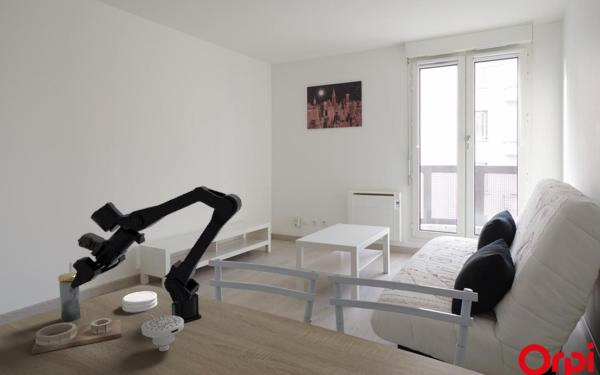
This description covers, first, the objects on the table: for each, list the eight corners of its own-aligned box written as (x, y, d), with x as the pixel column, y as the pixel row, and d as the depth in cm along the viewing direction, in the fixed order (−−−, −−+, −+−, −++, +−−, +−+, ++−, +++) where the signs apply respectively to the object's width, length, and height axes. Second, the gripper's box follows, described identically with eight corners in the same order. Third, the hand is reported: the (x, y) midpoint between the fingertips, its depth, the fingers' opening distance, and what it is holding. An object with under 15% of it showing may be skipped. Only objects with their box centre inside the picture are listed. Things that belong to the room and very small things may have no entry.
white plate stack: (163, 302, 125) (163, 291, 125) (144, 314, 115) (144, 302, 115) (136, 300, 127) (135, 289, 127) (115, 312, 117) (114, 300, 117)
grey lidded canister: (79, 313, 116) (77, 271, 115) (83, 318, 112) (81, 275, 111) (59, 317, 113) (56, 275, 112) (62, 323, 109) (59, 279, 108)
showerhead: (166, 308, 100) (191, 317, 94) (168, 335, 100) (192, 346, 94) (131, 320, 92) (156, 331, 86) (133, 350, 93) (157, 363, 87)
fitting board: (120, 322, 109) (119, 312, 109) (121, 337, 100) (120, 325, 100) (38, 337, 101) (38, 325, 100) (32, 354, 92) (31, 341, 91)
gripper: (113, 218, 120) (79, 254, 121) (78, 229, 101) (38, 271, 102) (140, 244, 120) (106, 279, 121) (110, 259, 102) (69, 301, 103)
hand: (81, 282), depth 112 cm, fingers open, 9 cm apart
